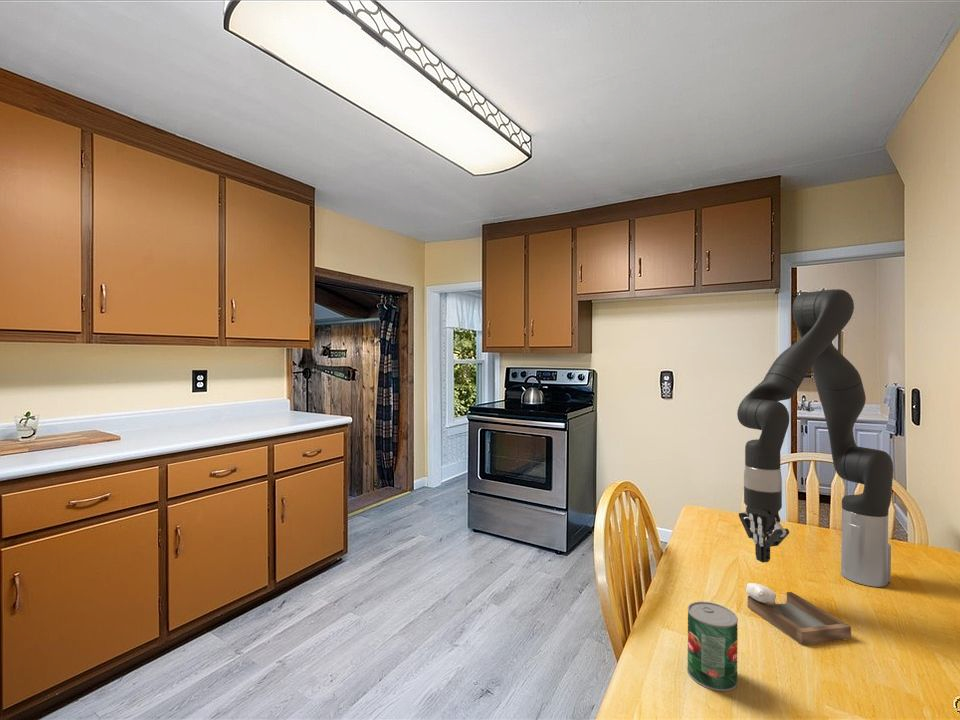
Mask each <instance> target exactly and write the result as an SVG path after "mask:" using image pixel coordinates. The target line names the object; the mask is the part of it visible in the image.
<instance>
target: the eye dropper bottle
mask: <svg viewBox="0 0 960 720" xmlns="http://www.w3.org/2000/svg"><path fill="white" fill-rule="evenodd" d="M745 588H746V589H745V593H746V594H747V596H751V597H752V598H754V599H755V600H757V601H760V602H763V603H764V604H766V605H774V604H775V602H776V599H777V593H775V592H774V591H773V590H771V588H769V587H767V586H765V585H763V584H760V583H754V582H749V583H747V585H746V587H745Z"/></svg>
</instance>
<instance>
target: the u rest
mask: <svg viewBox="0 0 960 720" xmlns="http://www.w3.org/2000/svg"><path fill="white" fill-rule="evenodd" d="M747 609H749V610H751V611H753V612H754V613H755V614H756V615H758V616H759V617H761V618H762V619H764V620H765V621H766V622H768V623H769V624H771V626H772V625H773V627H775V628H776V629H778V630H779V631H781V632H783V633H784V634H785V635H787V637H789V638H791V639H792V640H794V641H795V642H797V643H798V644H800V645H801V646H805V645H806V646H807V645H814V644H822V643H831V642H839V641H846V640H848V641H849V640H851V639H852V627H851V625H849V624H847V623H846V622H844V621H842V620H841V619H839V618H837V617H835V616H834V615H832V614H830V613H828V612H827V611H825V610H823V609H822V608H820V607H819V606H816V605H814V604H813V603H811V602H809V601H808V600H807V599H804V598H803V597H801V596H799V595H798V594H796V593H794V592H792V591H787V592H786V602H785V603H776V604H775V603H773V604H767V603H763V602H760V601H757V600H755V599H754V598H752V597H751V596H749V595H747Z"/></svg>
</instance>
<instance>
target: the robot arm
mask: <svg viewBox="0 0 960 720" xmlns="http://www.w3.org/2000/svg"><path fill="white" fill-rule="evenodd" d="M854 310H855V303H854V299H853V297H852V295H851V294H850V293H849V292H848V291H846V290H844V289H836V288H835V289H825V290H824V289H823V290H816V291H809V292H804V293H803V292H802V293H800V294H798V295H797V296H796V297H795V298H794V300H793V303H792V316H793V320H794V323H795V327H796V329H797V331H798V334H799V336H800V339H798V340H796V342H794V343H793V344H791V345H790V346H789V347H788V348H787V349H785V350H784V351H782V353H780V354H779V356H778V357H776V359H775V360H774V361H773V363H772V364H771V366H770V368H769V369H768V371H767V373H766V374H765V376H764V378H763V379H762V381H761V382H759V383H758V384H757V385H755V387H754V388H752V390H751V391H750V392H749V393H747V395H745V396H744V398H743V399H742V400H741V401H740V403H739V406H738V407H737V412H736V414H737V415H736V416H737V419H738V422H739V423H740V424H741V426H743V427H744V428H748V429H753V430H758V431H759V430H760V431H761V433H760V436H759V438H758V439H751V440H748V441H746V443H745V448H744V453H745V454H744V472H743V504H745V506H746V507H745V508H746V509H745V511H744V512H739V513H738V517H739V519H740V521H741V524H742V526H743V528H744V530H745V533H746V535H747V537H748V538H749V539H752V541H753V543H754V545H755V546H754V548H755V549H754V550H755V553H754V554H755V559H756V560H757V561H759V562H760V563H768V562H770V560H771V547H778V546H779V545H780V544H781V543H782V542H783V541H784V540H785V539H786V538H787V536H788V535H790V530H789V528H787V527H786V528H784V526H783V525H782V524H781V517H780V513H779V512H780V510H781V509H782V507H783V502H782V501H783V480H782V473H781V472H782V471H781V450H782V448H783V447H782V446H783V444H784V441H785V438H786V433H787V431H788V428H789V425H790V414H789V411H788V408H787V407H786V405H784V403H781V401H786V400H790V399H792V398H793V397H794V396H795V395H796V393H797V392H798V389H799V388H800V386H801V384H802V382H803V381H804V379H805V377H806V375H807V374H808V372H809V371H810V369H811V370H812V371H811V372H812V373H813V377H814V381H815V382H814V383H815V386H816V391H817V394H818V397H819V401H820V405H821V407H822V411H823V413H824V419H825V422H826V427H827V431H828V438H829V445H830V450H831V457H832V458H831V459H832V463H833V467H834V470H835V473H836V475H838V477H840V478H841V479H843V480H845V481H847V482H848V481H849V482H851V483H856V484H860V485H864V486H863V491H862V493H859V494H848V495H844V496H842V498H841V541H840V543H841V547H840V550H841V551H840V553H841V556H840V574H841V576H842V577H843V578H845V579H846V580H849V581H850V582H851V581H852V582H854V583H856V584H860V585H862V586H863V585H864V586H868V587H874V588H875V587H877V588H879V587H880V588H881V587H882V588H883V587H887V586H888V585H889V583H888V582H890V583H891V580H892V579H891V578H892V577H891V575H892V572H891V571H892V545H891V544H890V543H889V509H890V506H891V502H892V492H893V479H894V464H893V463H894V462H893V460H892V457H891V456H890V454H889V453H887V452H886V451H884V450H880V449H876V448H869V447H863V446H858V445H857V444H856V442H855V436H854V425H855V423H856V422H857V420H858V418H859V417H860V415H861V413H862V411H863V409H864V408H865V404H866V400H867V399H866V398H867V397H866V392H865V389H864V385H863V381H862V377H861V374H860V372H859V371H858V370H857V368H856V367H855V366H854V365H853V363H851V362H850V361H849V359H847V358H846V356H844V355H843V354H842V352H840V351H839V350H838V349H837V347H836V346H835V345H834V344H833V341H834V340H835V339H836V337H837V336H838V335H839V334H840V332H842V330H844V328H845V327H846V326H847V324H848V323H849V322H850V320H851V319H852V317H853V313H854ZM886 585H887V586H886Z"/></svg>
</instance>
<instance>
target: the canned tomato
mask: <svg viewBox="0 0 960 720" xmlns="http://www.w3.org/2000/svg"><path fill="white" fill-rule="evenodd" d="M687 606H688V607H687V666H686V667H687V668H686V670H687V674H688V675H689V676H690V678H691V679H692V680H693V681H694V682H695V683H697V684H698V685H700V686H702V687H704V688H705V689H709V690H712V691H716V692H731V691H733V690H735V689H736V688H737V686H738V622H739V619H738V616H737V615H736V613H735V612H734V611H732V610H731V609H729V608H728V607H725V606H724V605H721V604H718V603H714V602H709V601H695V602H691V603H690V604H689V605H687Z"/></svg>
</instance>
